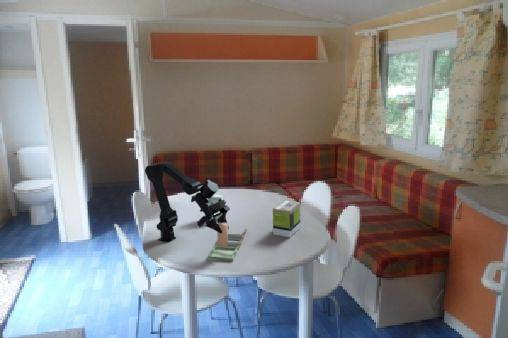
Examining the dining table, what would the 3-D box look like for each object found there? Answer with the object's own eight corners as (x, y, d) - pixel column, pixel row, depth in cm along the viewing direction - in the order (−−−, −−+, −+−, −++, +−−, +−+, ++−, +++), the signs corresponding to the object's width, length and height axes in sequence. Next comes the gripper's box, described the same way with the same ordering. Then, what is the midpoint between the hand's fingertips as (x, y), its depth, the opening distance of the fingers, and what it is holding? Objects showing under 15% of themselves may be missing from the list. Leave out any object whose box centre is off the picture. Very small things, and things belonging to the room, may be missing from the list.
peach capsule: (217, 243, 178) (216, 222, 176) (227, 242, 179) (226, 221, 177) (218, 247, 174) (218, 226, 171) (229, 246, 175) (228, 225, 172)
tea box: (284, 224, 213) (284, 199, 209) (300, 228, 208) (301, 202, 205) (272, 234, 200) (272, 207, 197) (290, 238, 195) (290, 210, 192)
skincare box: (207, 221, 218) (206, 196, 215) (209, 217, 224) (208, 193, 221) (221, 221, 218) (221, 197, 214) (223, 218, 224) (222, 193, 220)
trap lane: (225, 229, 207) (225, 226, 207) (246, 230, 205) (246, 228, 205) (207, 259, 173) (207, 257, 172) (233, 261, 171) (233, 258, 171)
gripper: (201, 199, 165) (222, 228, 162) (226, 188, 180) (246, 215, 177) (188, 213, 171) (208, 241, 168) (213, 201, 186) (232, 227, 183)
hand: (224, 230), depth 174 cm, fingers closed on peach capsule, 5 cm apart
